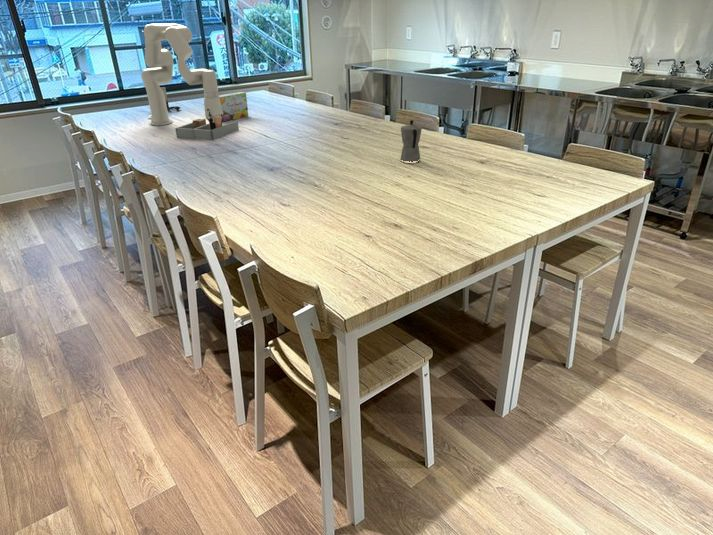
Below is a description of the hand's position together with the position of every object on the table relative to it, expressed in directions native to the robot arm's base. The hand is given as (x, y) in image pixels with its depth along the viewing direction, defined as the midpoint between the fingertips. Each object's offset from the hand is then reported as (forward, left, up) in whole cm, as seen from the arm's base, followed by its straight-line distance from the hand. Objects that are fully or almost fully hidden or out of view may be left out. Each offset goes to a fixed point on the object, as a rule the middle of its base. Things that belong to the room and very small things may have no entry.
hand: (216, 128), depth 272 cm
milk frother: (-74, +50, -3) cm, 89 cm away
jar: (0, 0, -1) cm, 1 cm away
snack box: (-14, +38, -3) cm, 41 cm away
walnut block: (-11, 0, -3) cm, 12 cm away
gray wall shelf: (-5, 0, -3) cm, 6 cm away
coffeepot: (+117, -22, -3) cm, 119 cm away
